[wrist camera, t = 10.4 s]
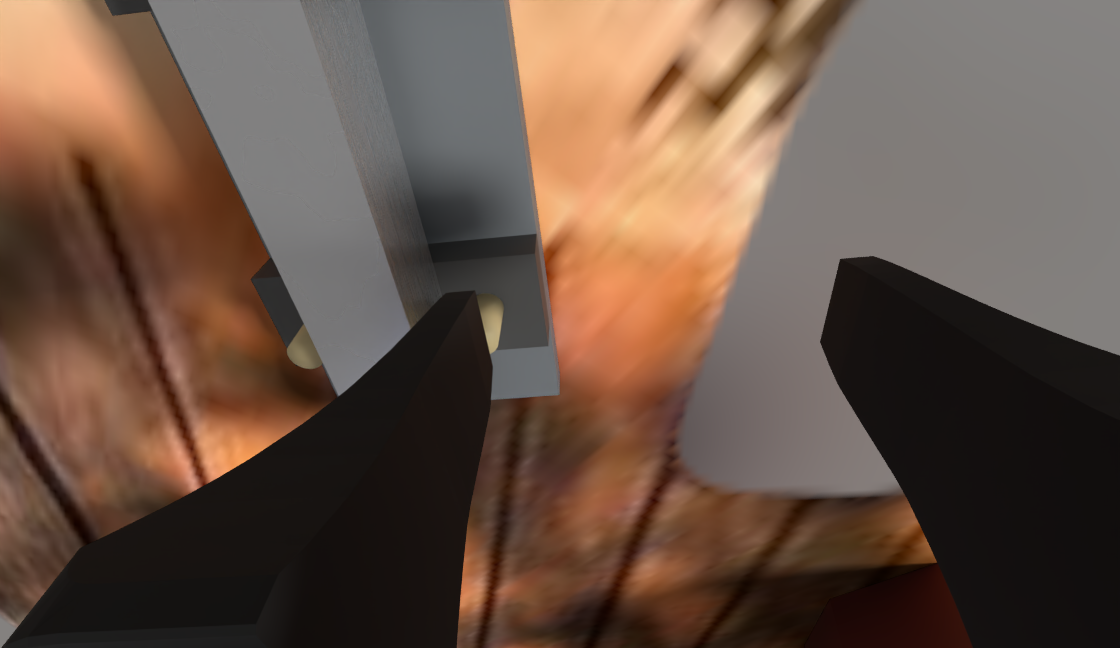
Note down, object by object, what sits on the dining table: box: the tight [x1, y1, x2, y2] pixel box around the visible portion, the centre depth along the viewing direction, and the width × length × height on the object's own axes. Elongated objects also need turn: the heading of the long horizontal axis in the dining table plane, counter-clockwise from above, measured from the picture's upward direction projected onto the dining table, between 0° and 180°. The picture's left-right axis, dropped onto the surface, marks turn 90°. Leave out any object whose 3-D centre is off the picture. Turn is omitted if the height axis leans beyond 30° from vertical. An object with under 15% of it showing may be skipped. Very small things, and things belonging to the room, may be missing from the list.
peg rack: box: [105, 0, 560, 400], centre depth 16 cm, size 24×10×5 cm, turn 6°
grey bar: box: [148, 0, 442, 396], centre depth 14 cm, size 24×4×4 cm, turn 6°
